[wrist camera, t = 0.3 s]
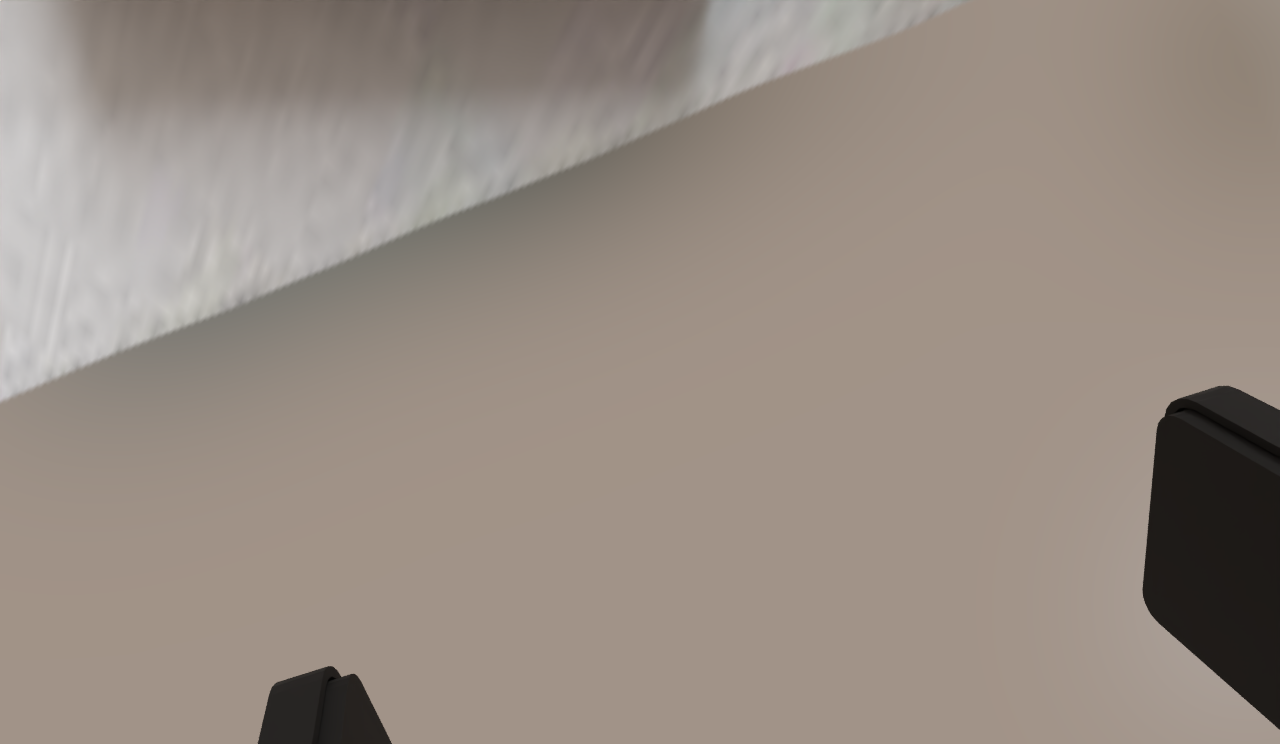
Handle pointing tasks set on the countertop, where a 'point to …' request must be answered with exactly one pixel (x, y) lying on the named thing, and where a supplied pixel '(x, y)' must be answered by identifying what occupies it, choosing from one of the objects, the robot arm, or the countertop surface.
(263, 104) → the countertop surface
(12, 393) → the countertop surface
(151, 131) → the countertop surface
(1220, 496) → the robot arm
